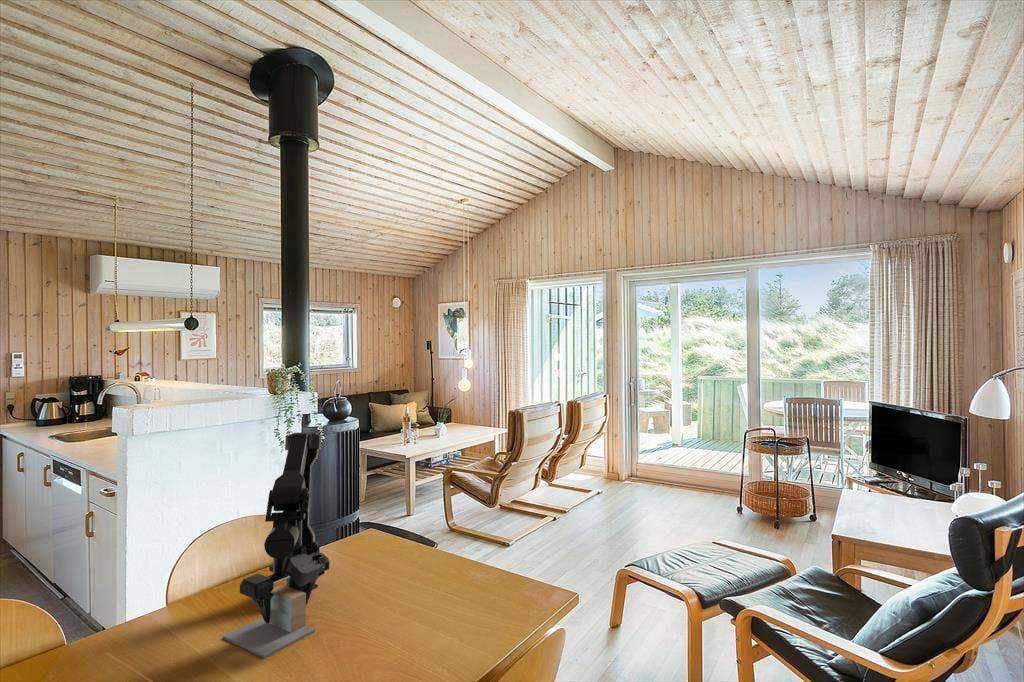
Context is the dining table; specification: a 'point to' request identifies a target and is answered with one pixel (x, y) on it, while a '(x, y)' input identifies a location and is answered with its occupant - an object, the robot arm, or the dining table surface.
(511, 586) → the dining table surface
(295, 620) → the light brown wooden block
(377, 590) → the dining table surface
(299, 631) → the rubber mat
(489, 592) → the dining table surface
